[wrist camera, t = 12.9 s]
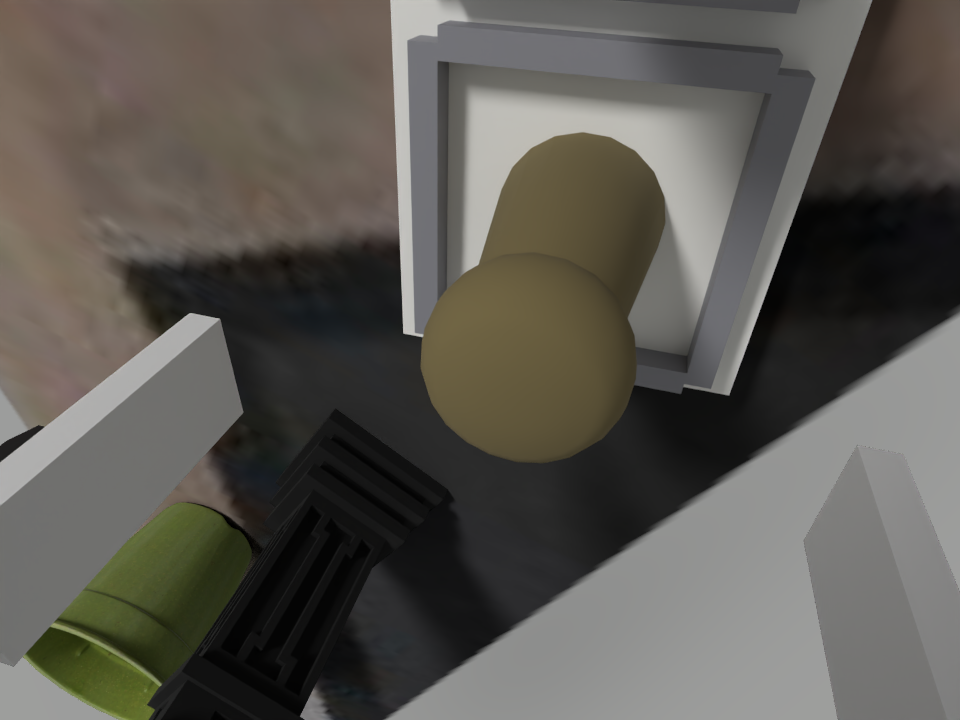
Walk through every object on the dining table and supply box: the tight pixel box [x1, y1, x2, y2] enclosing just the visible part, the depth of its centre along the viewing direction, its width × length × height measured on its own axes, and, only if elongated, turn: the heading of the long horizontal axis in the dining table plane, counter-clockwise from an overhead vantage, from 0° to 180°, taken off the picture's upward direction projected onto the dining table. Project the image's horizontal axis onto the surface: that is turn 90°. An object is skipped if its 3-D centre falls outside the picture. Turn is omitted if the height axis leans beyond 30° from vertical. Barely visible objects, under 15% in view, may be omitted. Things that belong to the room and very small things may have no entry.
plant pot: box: [23, 503, 252, 720], centre depth 41 cm, size 12×12×11 cm
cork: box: [421, 132, 665, 463], centre depth 18 cm, size 6×6×11 cm
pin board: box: [391, 0, 872, 395], centre depth 15 cm, size 26×14×13 cm, turn 177°
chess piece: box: [147, 409, 447, 720], centre depth 29 cm, size 8×8×20 cm
